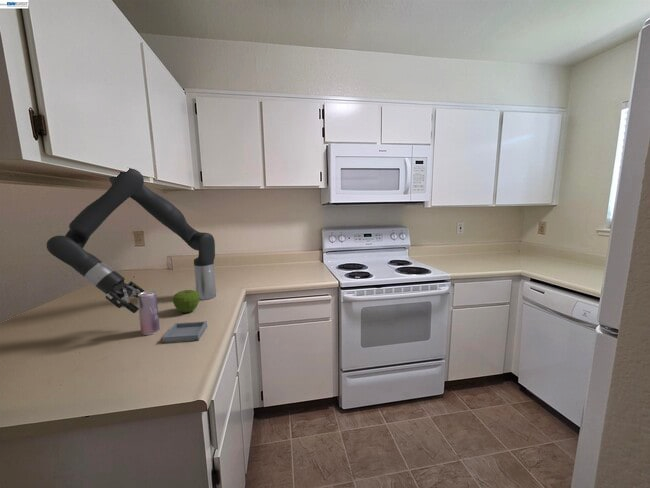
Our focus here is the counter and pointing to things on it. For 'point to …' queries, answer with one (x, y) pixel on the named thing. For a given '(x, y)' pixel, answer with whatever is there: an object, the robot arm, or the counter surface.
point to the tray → (185, 332)
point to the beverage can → (148, 312)
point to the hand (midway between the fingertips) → (142, 306)
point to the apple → (186, 300)
